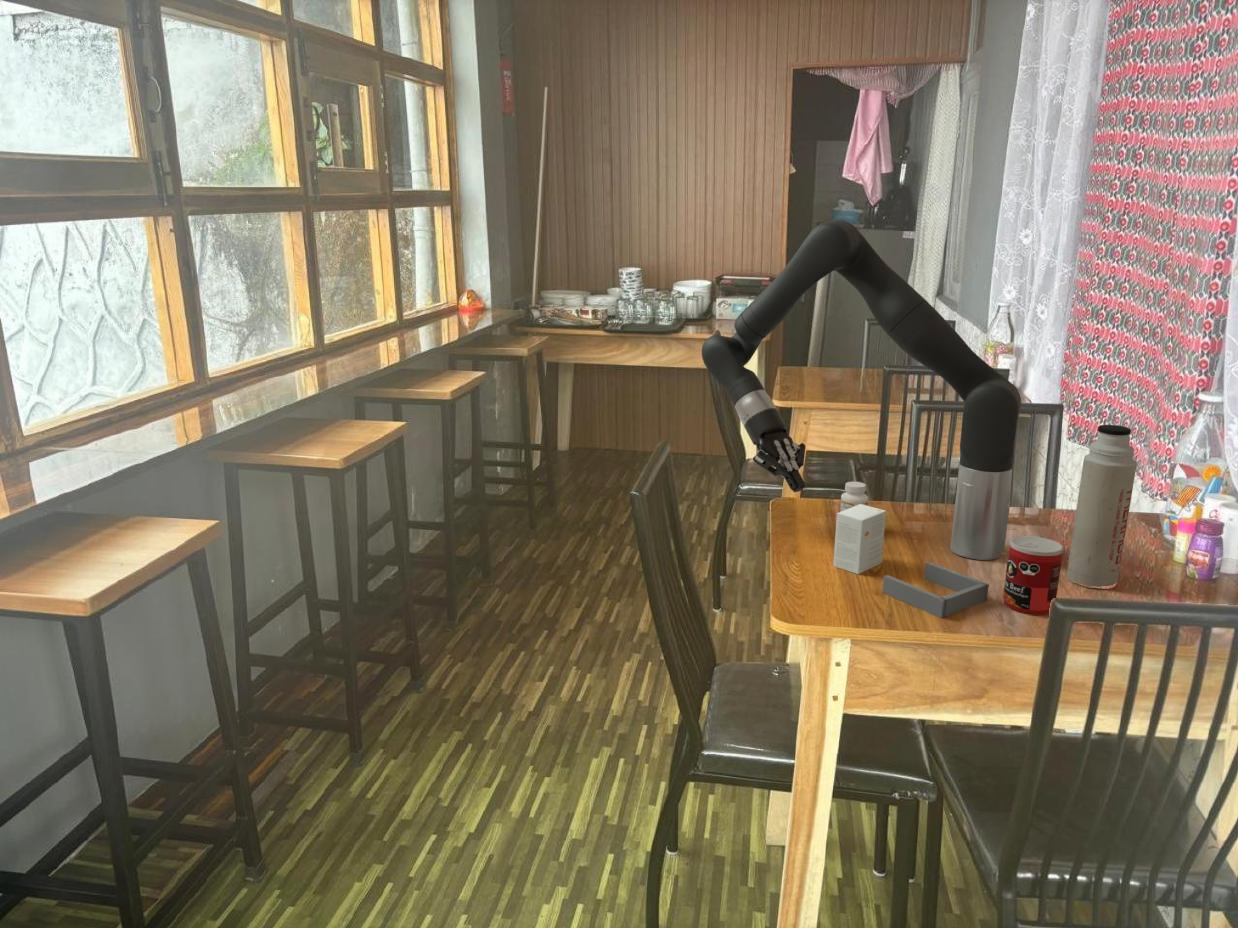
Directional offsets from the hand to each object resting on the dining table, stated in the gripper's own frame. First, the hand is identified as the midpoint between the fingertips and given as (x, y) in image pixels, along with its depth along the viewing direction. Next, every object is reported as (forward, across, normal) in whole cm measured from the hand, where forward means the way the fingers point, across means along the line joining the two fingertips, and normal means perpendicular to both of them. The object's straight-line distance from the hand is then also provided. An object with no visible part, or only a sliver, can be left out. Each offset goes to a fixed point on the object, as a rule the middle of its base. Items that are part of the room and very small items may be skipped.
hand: (799, 489), depth 177 cm
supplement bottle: (+9, +14, +6) cm, 18 cm away
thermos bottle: (+39, +29, -23) cm, 54 cm away
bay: (+30, 0, -15) cm, 34 cm away
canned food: (+39, +10, -23) cm, 46 cm away
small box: (+19, 0, -4) cm, 19 cm away
